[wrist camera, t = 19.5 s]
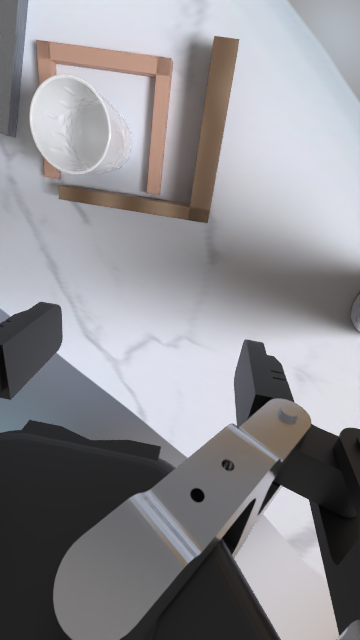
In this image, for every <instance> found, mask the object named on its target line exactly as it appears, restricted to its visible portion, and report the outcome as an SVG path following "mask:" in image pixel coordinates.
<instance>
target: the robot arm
mask: <svg viewBox="0 0 360 640" xmlns="http://www.w3.org/2000/svg"><path fill="white" fill-rule="evenodd" d="M351 319H352V322H353V324H354V326H355V328H356V329H357V330H358V331H359V332H360V294H359V295H358V296H357V298H356V299H355V301H354V303H353V306H352V309H351ZM61 343H62V313H61V307H60V306H59V305H57V304H51V303H46V302H39V303H38V304H36V305H35V306H33V307H32V308H30V309H29V310H26V311H23V312H20V313H17V314H14V315H13V316H11V317H10V318H8V319H7V320H6V321H4V322H2V323H0V398H5V399H10V400H11V399H12V398H13V397H14V396H15V395H16V394H17V393H18V391H19V390H20V389H21V388H22V387H23V386H24V385H25V384H26V383H27V382H28V381H29V380H30V379H31V378H32V377H33V376H34V375H35V374H36V373H37V372H38V371H39V370H40V369H41V368H42V367H43V366H44V364H45V363H46V362H47V361H48V360H49V359H50V358H51V357H52V356H53V355H54V354H55V353H56V352H57V351H58V350H59V348H60V346H61ZM286 380H287V379H286V376H285V374H284V370H283V367H282V365H281V363H280V362H279V361H278V360H277V359H276V358H275V357H274V356H269V355H267V354H266V351H265V347H264V344H263V343H262V342H257V341H251V340H246V339H245V340H244V343H243V346H242V349H241V353H240V357H239V360H238V364H237V367H236V371H235V377H234V391H235V404H236V418H237V426H236V425H234V424H229V425H228V426H226V427H225V428H224V429H223V430H221V431H220V432H219V433H218V434H217V435H215V436H214V437H213V438H212V439H211V440H209V441H208V442H207V443H206V444H205V445H203V446H202V447H201V448H200V449H199V450H197V451H196V452H195V453H194V454H192V455H191V456H190V457H189V458H188V459H186V460H185V461H184V462H183V463H182V464H180V465H179V466H178V467H177V468H175V467H174V466H173V465H171V464H170V463H168V462H167V461H165V460H163V459H161V458H159V455H160V449H161V447H160V446H155V445H150V444H145V443H141V442H136V441H131V440H89V439H86V438H85V437H82V436H80V435H78V434H76V433H74V432H72V431H70V430H68V429H66V428H64V427H61V426H57V425H52V424H47V423H42V422H37V421H32V420H29V421H28V423H27V424H26V425H25V426H24V428H23V429H22V430H15V431H8V432H2V433H0V640H281V639H280V638H279V636H278V634H277V632H276V631H275V629H274V627H273V625H272V624H271V622H270V620H269V619H268V617H267V615H266V613H265V612H264V610H263V608H262V606H261V605H260V603H259V601H258V599H257V598H256V596H255V594H254V593H253V591H252V589H251V587H250V586H249V584H248V582H247V581H246V579H245V577H244V575H243V574H242V572H241V570H240V568H239V567H238V565H237V563H236V561H235V560H234V558H235V556H236V555H237V553H238V551H239V550H240V549H241V547H242V546H243V544H244V542H245V541H246V539H247V537H248V535H249V534H250V532H251V530H252V528H253V527H254V525H255V524H256V522H257V521H258V520H259V518H260V517H261V515H262V514H263V513H264V511H265V510H266V509H267V507H268V506H269V504H270V503H271V502H272V500H273V499H274V497H275V496H276V495H277V493H278V492H279V491H280V489H281V488H282V486H283V487H285V488H287V489H289V490H291V491H293V492H295V493H297V494H299V495H301V496H303V497H305V498H307V499H309V502H310V506H311V511H312V515H313V520H314V524H315V529H316V533H317V538H318V542H319V547H320V551H321V556H322V560H323V565H324V569H325V574H326V578H327V583H328V587H329V591H330V596H331V600H332V605H333V609H334V614H335V618H336V622H337V627H338V632H339V637H338V638H337V639H336V640H360V429H357V428H346V429H344V430H342V431H341V433H340V435H339V436H336V435H334V434H332V433H329V432H327V431H325V430H322V429H320V428H318V427H316V426H314V425H312V424H311V418H310V416H309V414H308V413H307V412H306V411H305V410H304V409H303V408H302V407H301V406H299V405H298V404H296V403H294V400H293V397H292V394H291V391H290V388H289V385H288V382H287V381H286Z"/></svg>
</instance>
